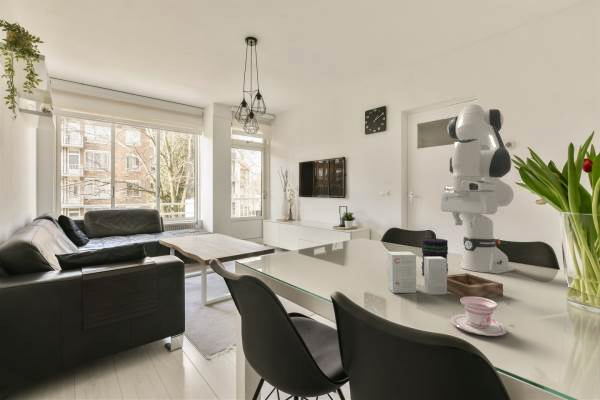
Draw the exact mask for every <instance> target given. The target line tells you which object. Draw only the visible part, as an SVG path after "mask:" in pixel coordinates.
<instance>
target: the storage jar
mask: <svg viewBox="0 0 600 400" xmlns="http://www.w3.org/2000/svg"><path fill="white" fill-rule="evenodd" d="M448 242H449V241H448V240H447V239H445V238H430V237H429V238H428V237H427V238H422V239H421V249H422V250H421V253H422V261H421V271H422V273H421V276H422V277H424V257H439V256H440V257H443V258H445V259H447V260H448V253H449V252H448V250H449V247H448V246H449V245H448ZM448 267H449V265H448V263H447V275H449V274H448V272H449V268H448Z"/></svg>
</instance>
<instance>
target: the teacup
mask: <svg viewBox="0 0 600 400" xmlns="http://www.w3.org/2000/svg"><path fill="white" fill-rule="evenodd" d="M459 301H460V303H461V305H463V309H464V310H465V313H460V314H454V315H452V316H451V318H450V321H451V323H452V325H454V326H455V327H456V328H459V329H460V330H463V331H465V332H468V333H472V334H475V335H480V336H481V335H482V336H487V337H491V336H492V337H498V336H503V335H505V334H507V330H508V328H507V327H506V326H505V325H504V324H502V323H501V322H500V321H498V320H496V319H493V318H492V315H493V313H494V311H495V310H496V309H497V307H498V304H497V302H496V301H494V300H492V299H490V298H481V297H463V298H462V297H460V299H459ZM468 323H470V324H468Z"/></svg>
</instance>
